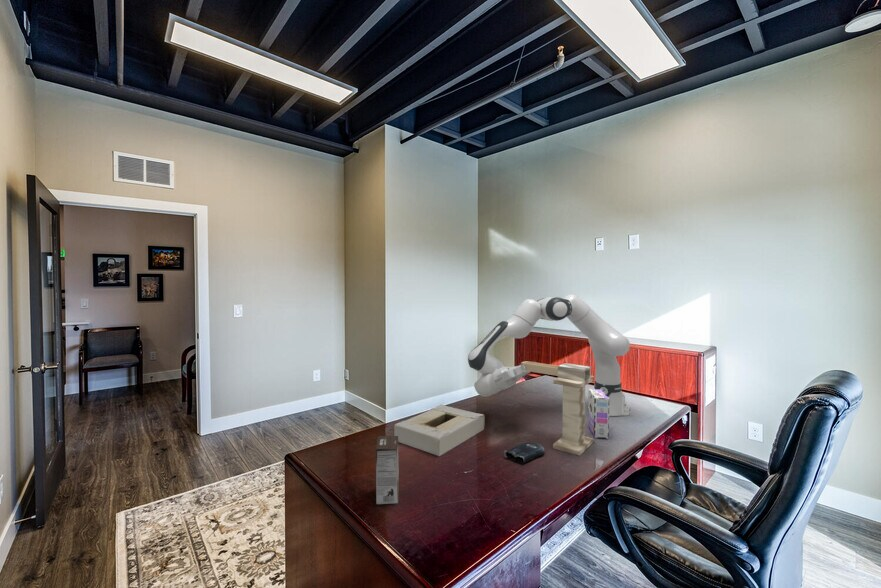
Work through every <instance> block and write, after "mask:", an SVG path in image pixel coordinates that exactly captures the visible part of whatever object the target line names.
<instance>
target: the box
mask: <svg viewBox="0 0 881 588" xmlns="http://www.w3.org/2000/svg"><path fill="white" fill-rule="evenodd" d="M485 418H486V417H485V414H483V413H477V412H472V411H470V410H464V409H461V408H456V407H452V406H449V405H448V406H447V405H444V404H439V405H437V406H435V407H433V408H431V409H430V410H427V411H425V412H423V413H420V414H418V415H416V416H413V417H409V418H408V419H406V420H401V421H400V422H396V423H394V425H393V426H394V428H393V431H394V433H393V434H394V435H393V436H398V443H401V444H403V445H406V446H409V447H412V448H415V449H417V450H421V451H422V452H423V451H424V452H426V453H429V454H432V455H434V456H437V457H441V456H442V455H444V454H446V453H448V452H449V451H450V450H452V449H454V448H456V447H457V446H459V445H460V444H462V443H464V442H465V441H467V440H469V439H470V438H472V437H474V436H475V435H477V434H478V433H480V432H482V431H484V430H485V420H486V419H485Z"/></svg>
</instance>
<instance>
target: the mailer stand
mask: <svg viewBox="0 0 881 588" xmlns="http://www.w3.org/2000/svg"><path fill="white" fill-rule="evenodd" d="M557 366H558V376H557V377H555V378H553V381H552V383H553V385H558V386H562V436H561V437H560V438H559V439H558V440H556V441H555V442H554V443H553V444H552V448H553V449H555V450H558V451H562V452H566V453H569V454H572V455H576V456H581V455H582V454H583V453H584V452H585V451H586V450H587V449H588V448H589V447H590V446H591V445H592V444H593V443H594V442H595V440H594V437H593V438H592V437H589V436H586V386H587V385H588V384H590V383H591V382H593V381H595V375H591V374H592V373H591V372H592V371H591V370H592V369H591V368H592V367H591V366H590V365H584V364H583V365H582V364H575V363H568V362H564V363H562V364H560V365H559V364H558V365H557Z"/></svg>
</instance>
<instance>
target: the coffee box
mask: <svg viewBox="0 0 881 588" xmlns="http://www.w3.org/2000/svg"><path fill="white" fill-rule="evenodd" d="M375 445H376V447H375V461H376V462H375V472H376V473H375V478H376V479H375V482H376V483H375V485H376V487H375V495H376V496H375V497H376V499H375V501H376V503H375V504H376V505H386V504H388V505H390V504H399V491H400V490H399V487H400V484H399V482H400V481H399V480H400V479H399V478H400V477H399V475H400V474H399V472H400V471H399V468H400V466H399V465H400V464H399V463H400V461H399V460H400V459H399V458H400V457H399V454H400V453H399V442H398V436H394V435H379V436H377V439H376V444H375Z"/></svg>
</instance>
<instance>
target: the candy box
mask: <svg viewBox="0 0 881 588" xmlns="http://www.w3.org/2000/svg"><path fill="white" fill-rule="evenodd" d="M587 392H588V393H587V394H588V397H587V399H588V404H587V409H588V417H587V419H588V420H587V421H588V428H589V430H590V432H591V434H592V436H593V438H595V439H605V440H606V439H607V440H609V439H610V436H609V435H610V432H609V431H610V416H609V398H608V397H607V395H606V394H605V393H604V392H603V391H602V390H600V389H595V388H588V391H587Z"/></svg>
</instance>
